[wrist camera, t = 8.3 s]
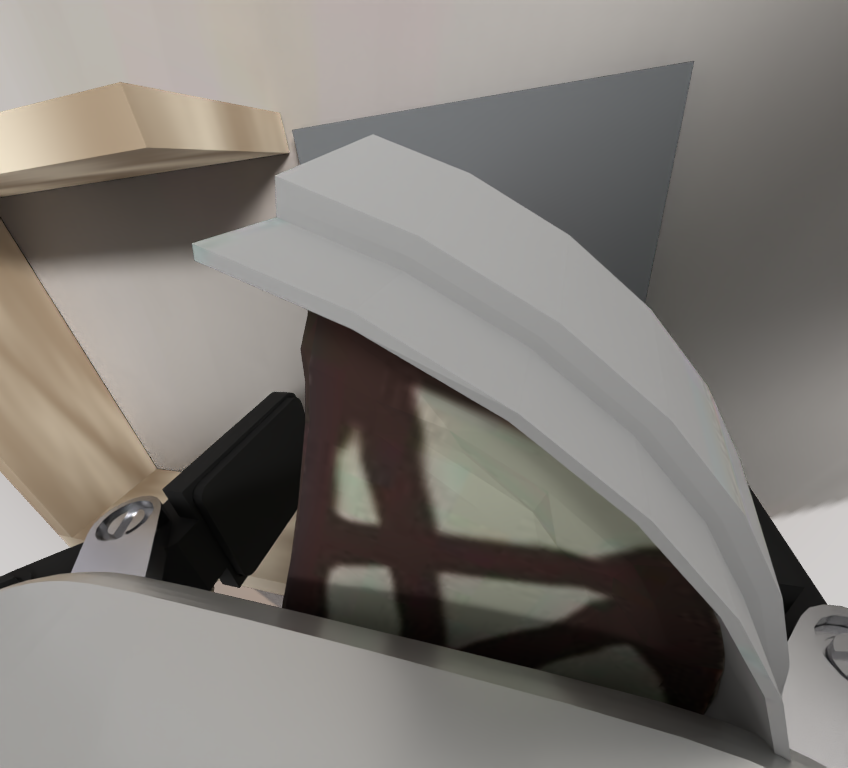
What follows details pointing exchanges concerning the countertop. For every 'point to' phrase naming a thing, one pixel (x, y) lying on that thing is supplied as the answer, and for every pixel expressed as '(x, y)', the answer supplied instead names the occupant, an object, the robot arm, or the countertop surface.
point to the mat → (556, 155)
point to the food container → (508, 444)
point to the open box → (47, 331)
